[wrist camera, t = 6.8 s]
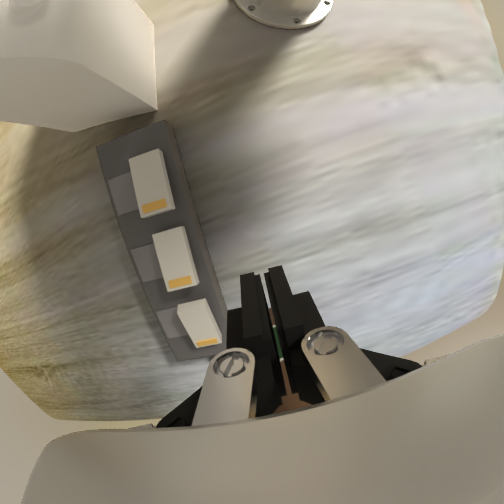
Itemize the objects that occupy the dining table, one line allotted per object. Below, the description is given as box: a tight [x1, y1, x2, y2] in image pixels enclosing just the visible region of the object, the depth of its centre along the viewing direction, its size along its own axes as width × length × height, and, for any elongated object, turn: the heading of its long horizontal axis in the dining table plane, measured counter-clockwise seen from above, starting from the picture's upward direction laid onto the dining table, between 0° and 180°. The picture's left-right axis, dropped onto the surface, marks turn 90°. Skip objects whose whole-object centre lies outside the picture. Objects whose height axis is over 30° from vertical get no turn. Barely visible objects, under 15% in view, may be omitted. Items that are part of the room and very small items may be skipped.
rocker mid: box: [152, 226, 199, 292], centre depth 28 cm, size 6×3×2 cm, turn 13°
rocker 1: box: [129, 149, 175, 218], centre depth 26 cm, size 6×3×2 cm, turn 13°
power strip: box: [96, 120, 228, 361], centre depth 32 cm, size 31×8×4 cm, turn 14°
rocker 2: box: [177, 298, 222, 348], centre depth 31 cm, size 6×3×2 cm, turn 16°
